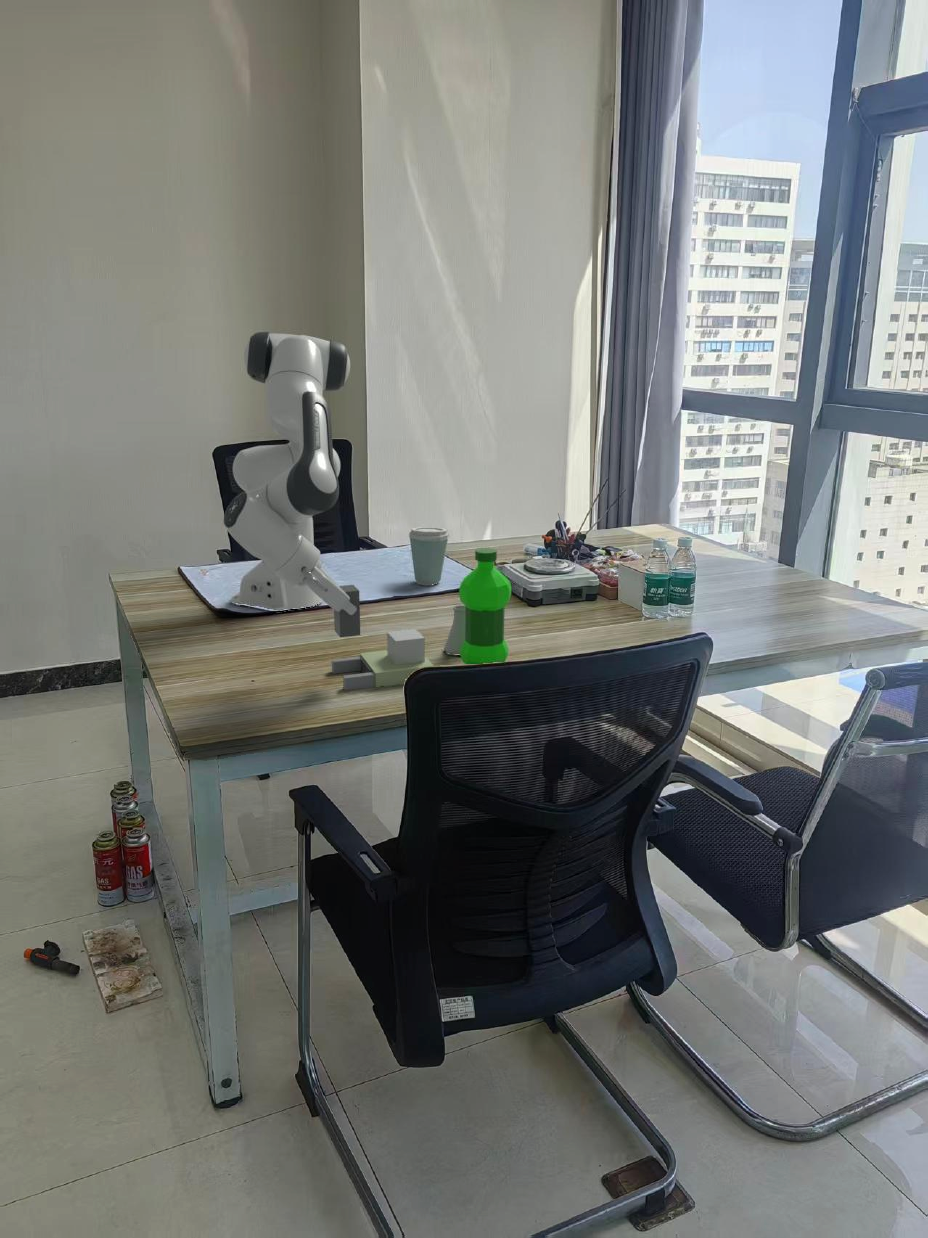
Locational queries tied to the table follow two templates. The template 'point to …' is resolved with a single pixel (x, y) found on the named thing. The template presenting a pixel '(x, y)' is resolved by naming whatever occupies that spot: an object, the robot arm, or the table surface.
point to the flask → (456, 631)
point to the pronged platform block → (385, 662)
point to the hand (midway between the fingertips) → (349, 607)
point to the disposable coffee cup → (428, 553)
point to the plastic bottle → (484, 611)
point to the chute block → (348, 615)
